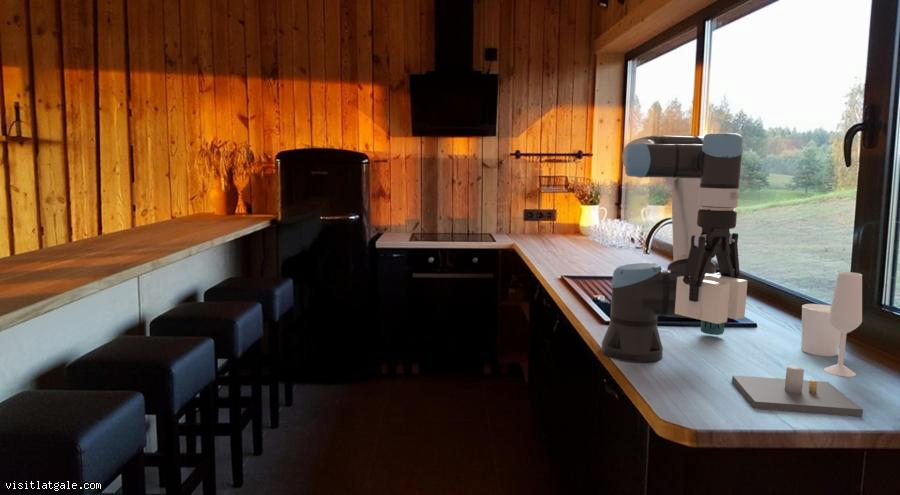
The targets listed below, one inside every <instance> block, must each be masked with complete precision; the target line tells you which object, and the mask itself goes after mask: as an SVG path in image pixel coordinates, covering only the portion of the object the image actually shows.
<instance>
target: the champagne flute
mask: <svg viewBox="0 0 900 495" xmlns="http://www.w3.org/2000/svg"><path fill="white" fill-rule="evenodd" d="M833 290H834V291H833V296H832V301H831V305H830V306H831V309H830V314H829V320H830V322H831V323H832V325H833V326H834V327H835V328H836V329H837V330H838V331H840V332H841V336H840V342H839V347H838V357H837V363H836V364H833V365H830V366H827V367H824V368H823V371H824V372H825V373H827V374H830V375H833V376H839V377H847V378H850V377H856V376H857V374H856V373H855V372H854V371H853V370H851V369H850V368H849V367H847V366H845V365H844V360H845V352H846V342H847V335H848V333H851V332H852V331H854V330H856V329H857V328H858V327H860V325H861V324H862V322H863V274H861V273H859V272H853V271H852V272H851V271H850V272H849V271H839V272H838V273H837V278H836V281H835V286H834V289H833Z"/></svg>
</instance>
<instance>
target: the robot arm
mask: <svg viewBox="0 0 900 495" xmlns="http://www.w3.org/2000/svg"><path fill="white" fill-rule="evenodd" d="M743 153H744V149H743V136H742V135H741V134H740V133H735V132H734V133H733V132H732V133H731V132H714V133H713V132H712V133H711V132H709V133H706V134H705V135H704V136H700V135H689V136H688V135H687V136H686V135H685V136H684V135H683V136H682V135H649V136H643V137H640V138H637V139H634V140H631V141H630V142H629V143H627V144H626V145H625V146H624V148H623V150H622V153H621V161H622V165H623V166H624V170H625V171H624V173H625V175H626V176H627V177H630V178H631V177H634V178H638V179H639V178H640V179H641V178H664V179H665V184H666V186H668V188H670V189H671V190H670V191H671V217H672V219H671V220H672V221H671V222H672V224H671V225H672V251H673V252H672V254H673V255H672V257H673V258H672V259H673V260H672V261H671V262H670V263H669V264H668V265H667V267H666V268H667V269H665V270H662V267H661V265H660V264H659V263H655V262H654V263H653V262H652V263H649V262H640V263H639V262H638V263H631V264H630V263H629V264H623V265H620V266H618V267H616V268H615V269H614V271H613V273H612V274H613V275H612V279H611V280H612V281H611V285H610V287H611V302H610V316H609V317H610V318H609V319H610V320H609V323H608V324H609V325H608V327H607V329H606V332H605V334H604V336H603V339H602V341H601V350H600V351H601V353H602V354H603V355H605V356H606V357H608V358H610V359H611V358H612V359H615V360H618V361H623V362H630V363H651V362H657V361H660V360H662V358H663V355H664V354H663V353H664V352H663V351H664V348H663V345H662V341H661V336H660V333H659V329H658V317H667V318H683V319H692V318H691V317H686V316H682V315H678V314H675V302H676V288H677V277H681V276H684V277H683V282H684V283H685V284H688V285H690V289H689V307H688V315H689V316H693V317H698V318H702V306H703V293H704V286H701V285H702V282H703V280H704V277H705V274H706V273H708V274H714V275H719V276H725V277H731V278H737V279H739V277H740V275H741V273H740V271H741V270H740V261H739V258H740V257H739V248H738V243H739V242H738V240H739V233H737V232H736V233H735V232H730V230H731V229H735V228H736V226H737V219H738V218H737V217H738V212H737V211H736V210H735V209H736V208H737V207H738V201H739V199H738V198H739V197H740V194H739V188H740V181H741V180H740V178H741V167H742V159H743V158H742V155H743ZM715 257H716V261H717V265H718V268H719V270H720V273H719V272H718V273H716V268H717V267H716V263H715V262H714V261H712V259H714V258H715ZM697 279H698V280H697ZM693 319H695V318H693Z"/></svg>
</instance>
